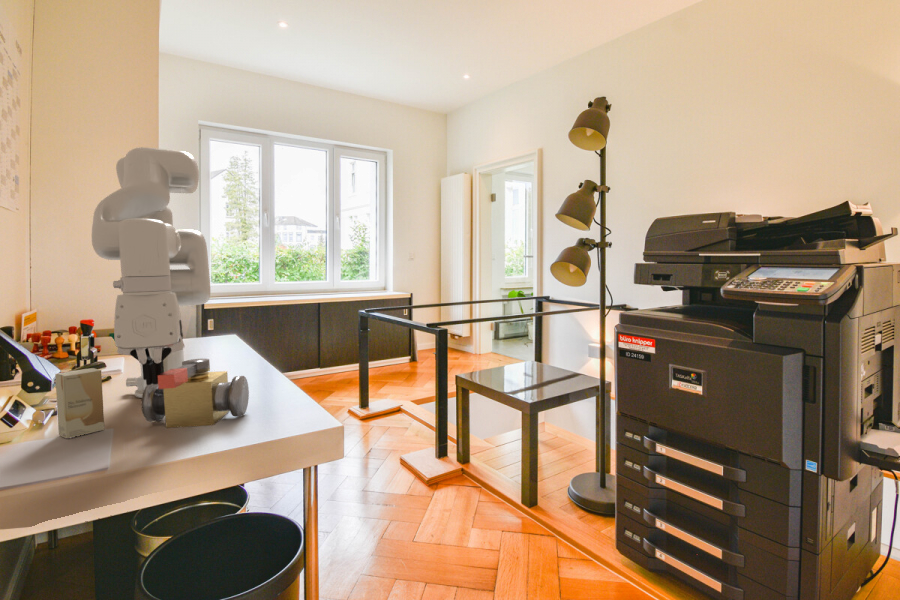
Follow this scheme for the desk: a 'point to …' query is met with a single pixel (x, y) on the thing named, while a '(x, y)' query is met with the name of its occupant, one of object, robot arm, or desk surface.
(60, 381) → the skincare box
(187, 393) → the valve
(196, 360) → the lever
